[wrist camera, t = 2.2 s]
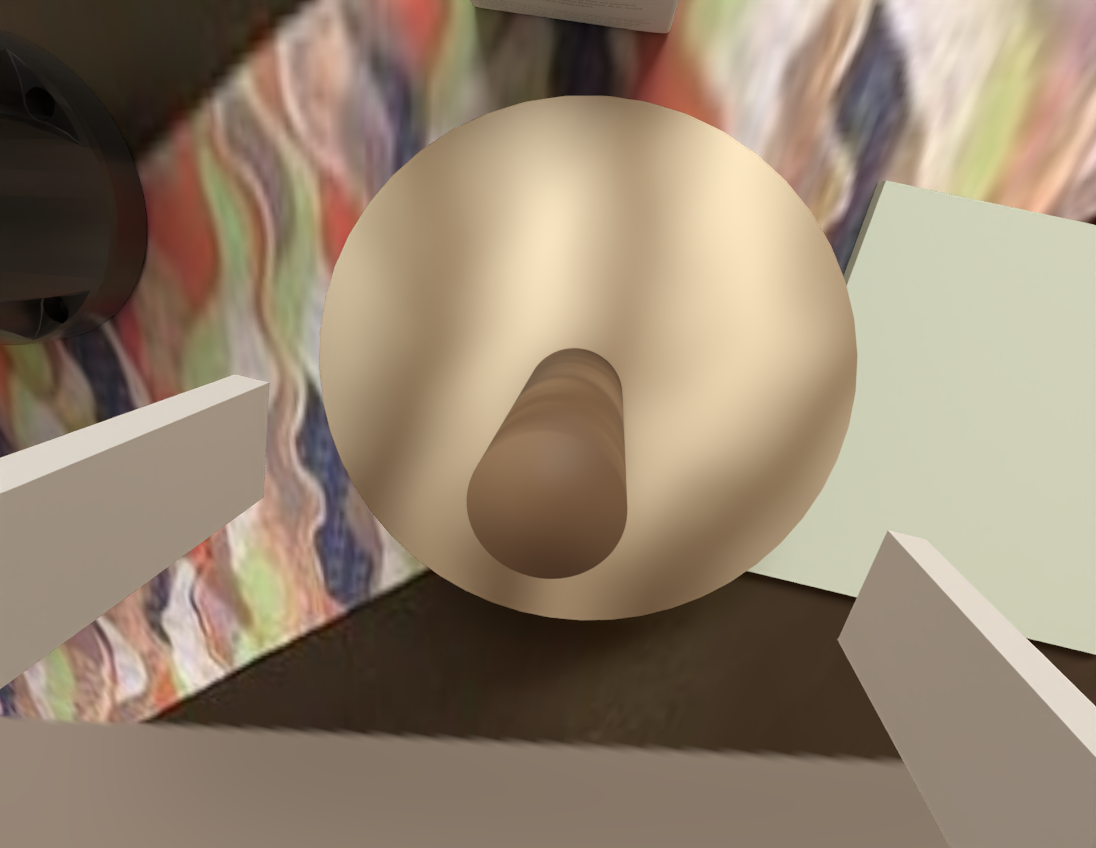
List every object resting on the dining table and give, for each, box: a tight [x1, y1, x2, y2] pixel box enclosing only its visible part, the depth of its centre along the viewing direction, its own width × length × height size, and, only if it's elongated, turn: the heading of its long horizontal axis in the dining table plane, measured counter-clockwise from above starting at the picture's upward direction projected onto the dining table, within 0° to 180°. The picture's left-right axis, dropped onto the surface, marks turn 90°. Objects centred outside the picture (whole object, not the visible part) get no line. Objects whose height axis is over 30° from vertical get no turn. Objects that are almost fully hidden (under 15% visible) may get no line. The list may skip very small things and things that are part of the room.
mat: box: [747, 181, 1096, 655], centre depth 28 cm, size 20×20×1 cm
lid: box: [319, 96, 858, 620], centre depth 17 cm, size 19×19×10 cm
